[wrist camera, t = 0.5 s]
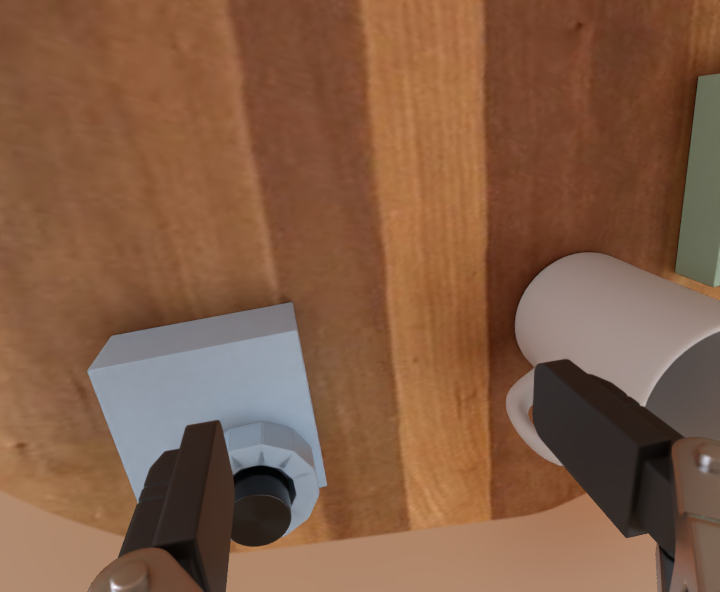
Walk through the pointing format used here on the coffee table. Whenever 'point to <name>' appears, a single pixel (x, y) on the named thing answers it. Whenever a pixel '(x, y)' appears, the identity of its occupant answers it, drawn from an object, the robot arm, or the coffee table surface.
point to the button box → (215, 396)
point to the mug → (622, 341)
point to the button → (260, 506)
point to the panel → (702, 190)
